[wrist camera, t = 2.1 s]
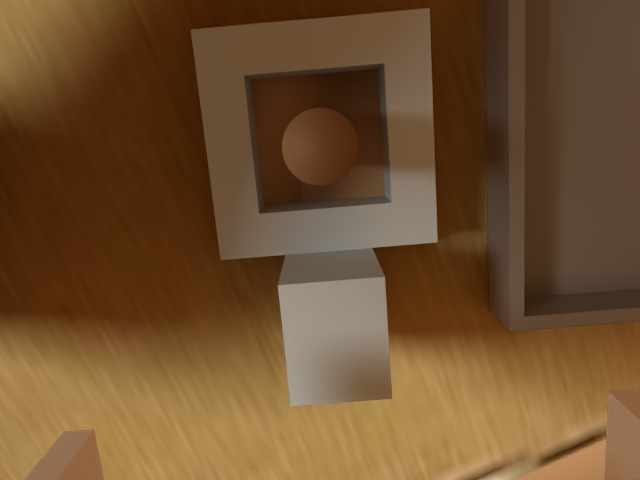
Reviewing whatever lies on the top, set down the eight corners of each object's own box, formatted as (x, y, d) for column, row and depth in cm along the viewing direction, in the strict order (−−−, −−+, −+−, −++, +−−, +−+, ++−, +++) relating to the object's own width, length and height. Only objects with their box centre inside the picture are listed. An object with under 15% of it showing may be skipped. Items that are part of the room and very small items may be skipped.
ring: (240, 339, 27) (214, 412, 20) (203, 38, 24) (157, 4, 17) (430, 324, 27) (468, 392, 20) (418, 19, 24) (459, -23, 17)
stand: (223, 254, 27) (171, 325, 17) (194, 31, 25) (116, -29, 15) (433, 237, 27) (497, 299, 17) (425, 11, 24) (495, -62, 15)
